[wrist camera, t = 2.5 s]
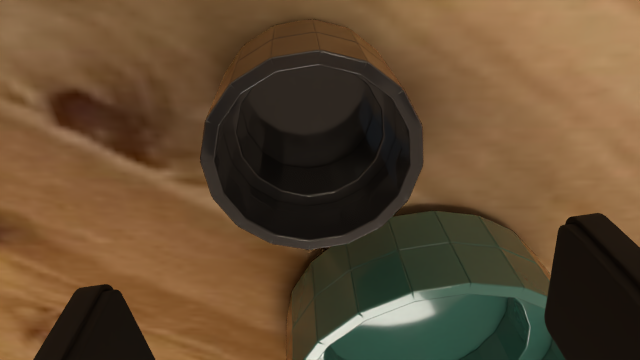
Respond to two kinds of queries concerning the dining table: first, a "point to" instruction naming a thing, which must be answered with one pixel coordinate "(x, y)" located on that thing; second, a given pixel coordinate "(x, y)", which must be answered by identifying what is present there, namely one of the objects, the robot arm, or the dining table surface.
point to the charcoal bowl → (311, 137)
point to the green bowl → (423, 295)
